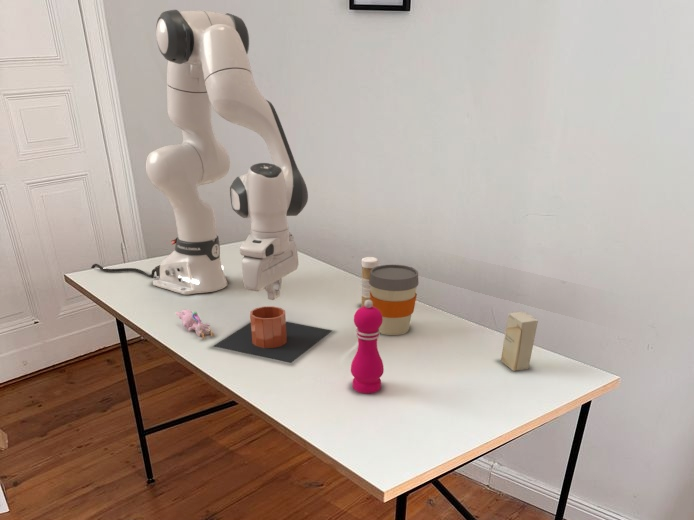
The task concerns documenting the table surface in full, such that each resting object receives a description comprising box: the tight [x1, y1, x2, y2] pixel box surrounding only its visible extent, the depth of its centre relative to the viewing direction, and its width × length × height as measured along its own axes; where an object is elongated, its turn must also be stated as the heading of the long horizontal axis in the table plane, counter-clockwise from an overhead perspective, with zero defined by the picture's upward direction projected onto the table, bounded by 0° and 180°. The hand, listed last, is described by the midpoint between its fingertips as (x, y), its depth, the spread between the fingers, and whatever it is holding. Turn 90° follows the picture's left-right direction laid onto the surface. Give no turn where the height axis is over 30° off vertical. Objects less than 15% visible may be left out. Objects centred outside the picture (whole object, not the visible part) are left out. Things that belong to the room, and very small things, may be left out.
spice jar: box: [360, 256, 379, 307], centre depth 189 cm, size 5×5×13 cm
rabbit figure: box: [175, 309, 215, 340], centre depth 176 cm, size 6×6×15 cm
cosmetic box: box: [500, 310, 539, 372], centre depth 159 cm, size 6×4×12 cm
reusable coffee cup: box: [369, 264, 419, 336], centre depth 176 cm, size 13×13×15 cm
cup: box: [249, 305, 287, 348], centre depth 169 cm, size 8×8×8 cm
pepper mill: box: [350, 300, 385, 394], centre depth 146 cm, size 7×7×20 cm
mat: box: [213, 321, 333, 364], centre depth 173 cm, size 22×22×1 cm
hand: (273, 297), depth 168 cm, fingers closed
